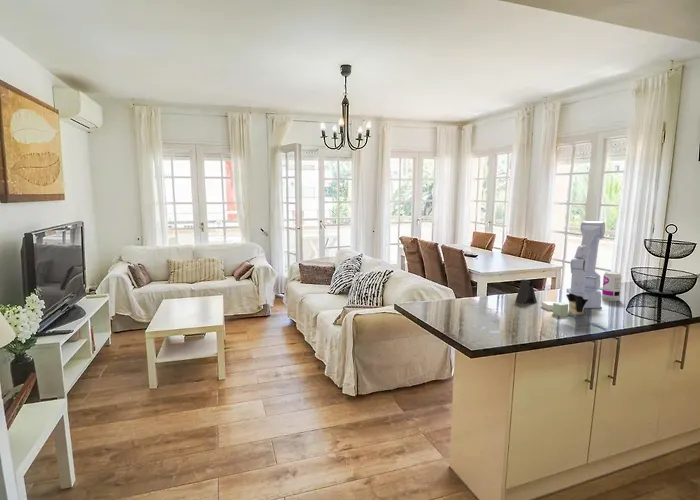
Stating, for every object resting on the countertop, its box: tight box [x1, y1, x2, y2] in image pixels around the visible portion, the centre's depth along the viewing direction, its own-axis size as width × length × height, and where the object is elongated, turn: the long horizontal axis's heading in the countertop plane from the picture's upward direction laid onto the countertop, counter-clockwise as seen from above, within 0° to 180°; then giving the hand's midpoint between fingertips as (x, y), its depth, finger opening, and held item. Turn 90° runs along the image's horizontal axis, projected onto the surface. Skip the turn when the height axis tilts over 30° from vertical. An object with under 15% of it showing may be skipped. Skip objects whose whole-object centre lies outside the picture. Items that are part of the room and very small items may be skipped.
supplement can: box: [601, 271, 622, 302], centre depth 215 cm, size 8×8×15 cm
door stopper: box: [514, 279, 538, 305], centre depth 211 cm, size 9×6×12 cm, turn 108°
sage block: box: [552, 301, 569, 317], centre depth 187 cm, size 4×4×6 cm
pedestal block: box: [541, 301, 558, 311], centre depth 199 cm, size 7×7×3 cm
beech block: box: [568, 300, 585, 316], centre depth 190 cm, size 4×4×6 cm
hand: (576, 310), depth 190 cm, fingers closed on beech block, 4 cm apart
